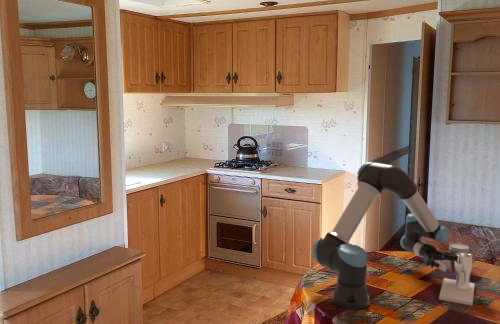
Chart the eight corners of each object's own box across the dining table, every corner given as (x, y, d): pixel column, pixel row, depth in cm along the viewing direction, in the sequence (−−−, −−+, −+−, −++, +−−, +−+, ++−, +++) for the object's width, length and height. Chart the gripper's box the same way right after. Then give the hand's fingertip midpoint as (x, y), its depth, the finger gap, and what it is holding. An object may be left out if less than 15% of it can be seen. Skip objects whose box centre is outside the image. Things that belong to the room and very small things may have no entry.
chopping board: (472, 305, 196) (472, 302, 196) (438, 299, 202) (439, 296, 202) (474, 286, 215) (474, 283, 215) (443, 281, 221) (443, 278, 221)
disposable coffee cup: (469, 268, 238) (471, 245, 236) (466, 274, 230) (468, 250, 228) (449, 264, 243) (450, 241, 241) (445, 270, 235) (447, 247, 233)
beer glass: (472, 290, 206) (474, 257, 204) (456, 290, 208) (457, 257, 206) (468, 284, 213) (469, 252, 211) (452, 283, 214) (453, 252, 212)
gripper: (445, 255, 232) (479, 271, 213) (403, 261, 224) (434, 278, 205) (446, 241, 231) (480, 255, 211) (404, 246, 223) (435, 261, 203)
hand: (458, 266), depth 208 cm, fingers open, 13 cm apart
